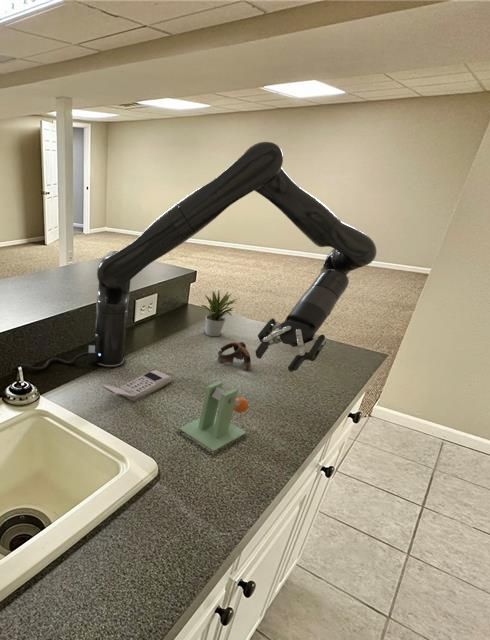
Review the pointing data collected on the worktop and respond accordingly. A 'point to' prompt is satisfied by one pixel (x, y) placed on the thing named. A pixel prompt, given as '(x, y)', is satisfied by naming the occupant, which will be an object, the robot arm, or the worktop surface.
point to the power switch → (215, 420)
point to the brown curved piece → (235, 354)
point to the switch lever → (240, 403)
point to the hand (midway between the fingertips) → (273, 363)
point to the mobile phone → (141, 385)
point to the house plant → (216, 314)
